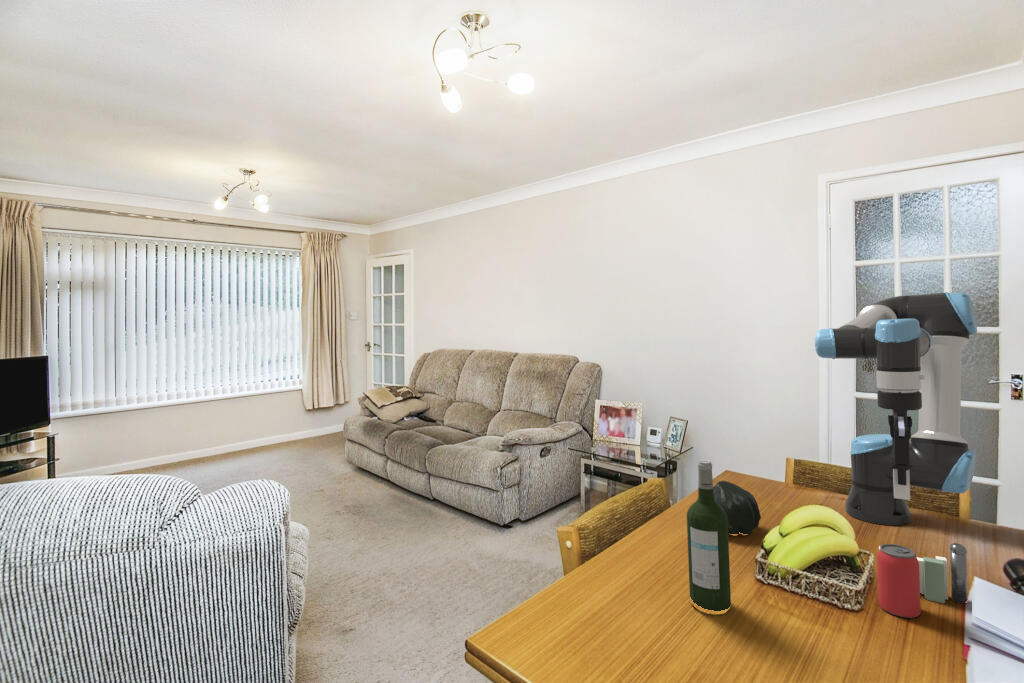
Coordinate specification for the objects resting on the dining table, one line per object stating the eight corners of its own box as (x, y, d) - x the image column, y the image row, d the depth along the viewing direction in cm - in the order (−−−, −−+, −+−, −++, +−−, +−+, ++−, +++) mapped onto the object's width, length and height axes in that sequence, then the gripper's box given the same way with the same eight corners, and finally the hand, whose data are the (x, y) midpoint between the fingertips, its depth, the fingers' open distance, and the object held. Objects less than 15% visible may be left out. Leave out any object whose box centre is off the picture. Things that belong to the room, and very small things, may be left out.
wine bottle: (729, 597, 103) (723, 457, 102) (733, 618, 96) (727, 467, 95) (689, 592, 106) (684, 455, 105) (690, 612, 98) (684, 466, 97)
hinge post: (949, 595, 100) (948, 539, 100) (967, 599, 98) (965, 542, 98) (951, 601, 98) (950, 544, 97) (969, 605, 96) (967, 547, 96)
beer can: (929, 621, 92) (927, 558, 92) (889, 618, 93) (887, 557, 93) (908, 601, 98) (906, 543, 98) (871, 599, 100) (869, 542, 100)
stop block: (924, 594, 101) (923, 556, 100) (943, 598, 99) (942, 560, 99) (925, 599, 99) (924, 560, 99) (944, 603, 97) (943, 564, 97)
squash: (773, 508, 136) (733, 465, 141) (768, 530, 124) (724, 482, 128) (733, 533, 142) (696, 491, 147) (725, 557, 130) (684, 510, 135)
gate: (946, 595, 100) (945, 557, 100) (948, 599, 98) (947, 560, 98) (879, 582, 106) (878, 546, 106) (880, 585, 105) (879, 548, 105)
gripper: (924, 394, 97) (927, 511, 98) (918, 386, 108) (921, 491, 108) (877, 393, 102) (881, 504, 102) (876, 385, 112) (879, 486, 113)
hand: (901, 497), depth 105 cm, fingers closed
